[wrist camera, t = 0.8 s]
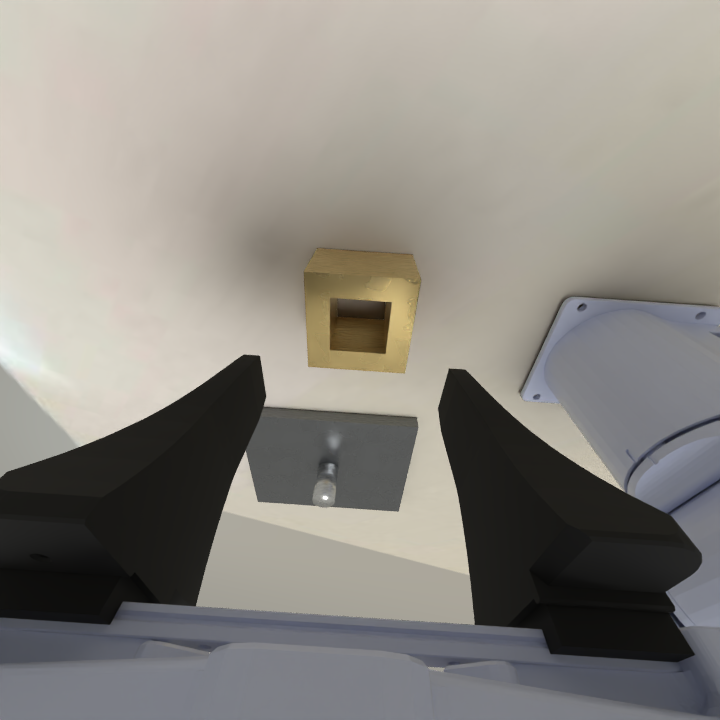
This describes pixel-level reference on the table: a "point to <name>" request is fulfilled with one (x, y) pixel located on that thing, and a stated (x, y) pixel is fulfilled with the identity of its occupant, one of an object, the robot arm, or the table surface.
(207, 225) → the table surface
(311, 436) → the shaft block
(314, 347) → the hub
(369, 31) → the table surface
